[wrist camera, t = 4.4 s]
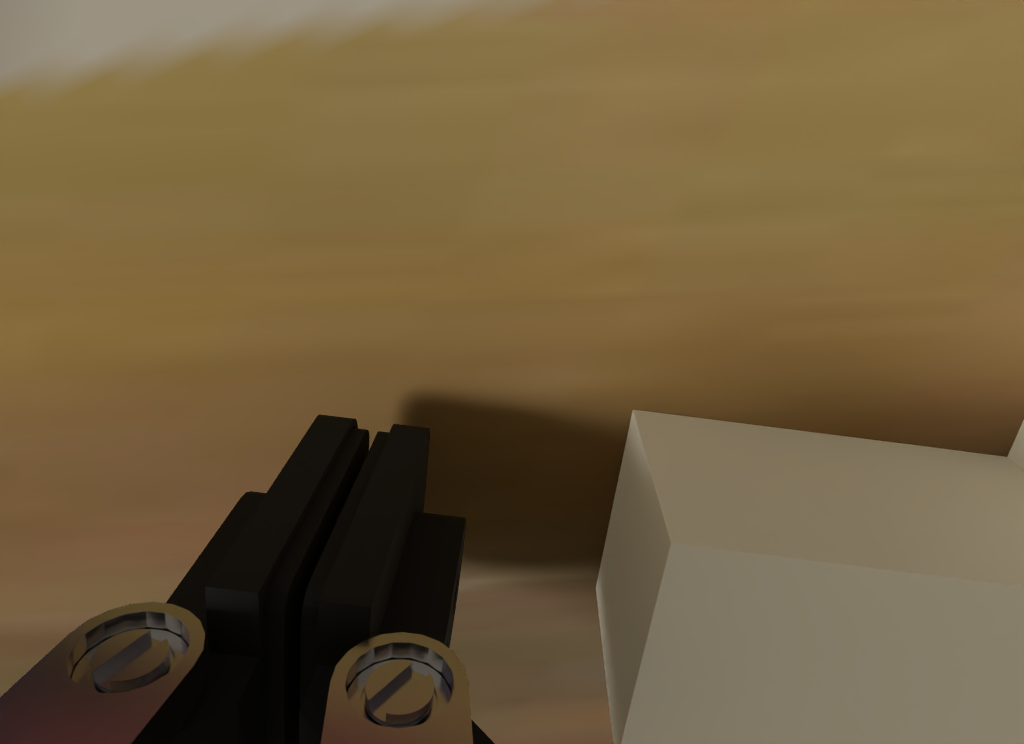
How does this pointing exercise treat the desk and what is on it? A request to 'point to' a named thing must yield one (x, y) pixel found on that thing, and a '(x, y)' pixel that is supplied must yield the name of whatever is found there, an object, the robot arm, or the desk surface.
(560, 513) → the desk surface
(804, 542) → the t block
